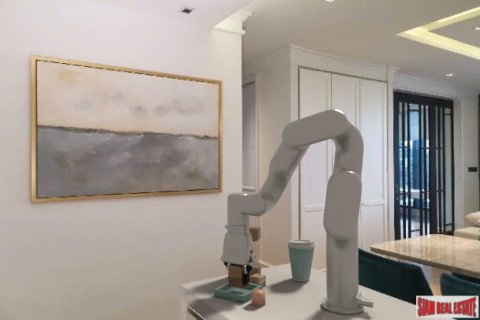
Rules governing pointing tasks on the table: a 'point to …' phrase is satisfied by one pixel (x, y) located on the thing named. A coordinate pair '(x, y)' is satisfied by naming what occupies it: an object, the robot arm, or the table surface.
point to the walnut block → (236, 276)
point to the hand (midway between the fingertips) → (238, 282)
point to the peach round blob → (258, 297)
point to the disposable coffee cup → (301, 258)
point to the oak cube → (258, 279)
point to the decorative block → (256, 235)
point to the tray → (236, 292)
